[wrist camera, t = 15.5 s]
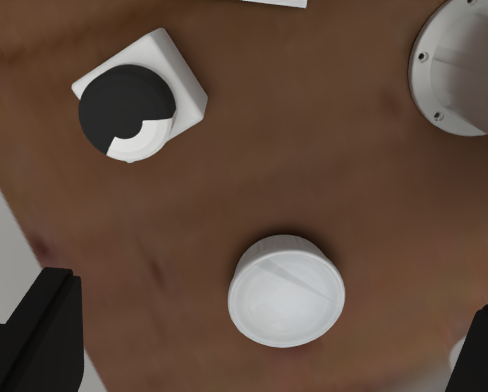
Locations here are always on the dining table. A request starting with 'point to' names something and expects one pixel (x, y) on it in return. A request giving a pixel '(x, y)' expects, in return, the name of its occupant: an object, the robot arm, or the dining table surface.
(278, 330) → the ramekin
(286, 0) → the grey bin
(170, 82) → the medicine bottle
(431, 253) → the dining table surface
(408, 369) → the dining table surface
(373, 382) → the dining table surface
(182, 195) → the dining table surface
